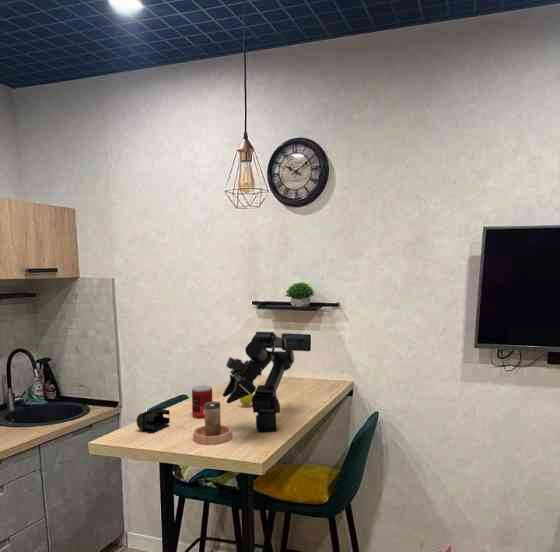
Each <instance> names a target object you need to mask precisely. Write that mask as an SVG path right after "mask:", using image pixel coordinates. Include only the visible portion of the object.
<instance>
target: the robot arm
mask: <svg viewBox="0 0 560 552" xmlns="http://www.w3.org/2000/svg"><path fill="white" fill-rule="evenodd" d="M276 348H277V349H283V351H282V350H281V351H279V350H276V351H275V349H276ZM268 349H271V350H268ZM245 354H246V356H247V357H248V358H250V359H249V360H245V361H242V359H239V358H236V359H235V358H233V357H231V356H230V357H228V360H227V362H226V366H225V367H227V368H228V369H230V372H229V382H228V384H227V385H226V388H225V390H224V391H223V393H222V396H223V397H224V398H226V397H228V398H227V399H226V403H227V404H228V405H229V404H231V403H233V402H236V401H237V400H240V398H243V397H245V396H247V395H250V394H251V395H253V394H254V395H253V397H252V403H251V405H252V412H253V413H257V415H255V427H256V429H257V432H258V433H265V432H277V431H278V429H277V414H280V413H281V404H280V401H279V399H278V397H277V390H278V387H279V385H280V383H281V380H282V378H283V375H284V373H285V371H288V370H290V369H291V367H292V365H293V364H294V362H295V355H294V349H293V348H292V347H291V345H290V344H288V340H287V338H285V337H280V336H277V334H276V333H275V332H274V331H256V332H255V334H254V335H253V337H251V341H250V342H248V343H247V345H246V346H245ZM270 363H272V367H271V369H270V371H269V374H268V376H267V378H266V380H265V382H264V384H259V385H257V387H256V385H255V384H254V381H255V380H256V379H257V377H259V376H262V372H263V371H264V370H265V369H266V368H267V367H268V365H269V364H270ZM255 387H256V388H257V389H256V390H255ZM248 392H249V393H250V394H249V393H248Z"/></svg>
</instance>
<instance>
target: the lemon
mask: <svg viewBox="0 0 560 552" xmlns="http://www.w3.org/2000/svg"><path fill="white" fill-rule="evenodd" d="M256 389H257V387H256V386H255V391H256ZM248 393H249V392H248ZM249 394H250V393H249ZM252 397H253V394H252V395H251V394H250V395H247V396H245V397H243V398H240V399H239V402H240V403H241V405H244V407H248V406H250V405H252Z"/></svg>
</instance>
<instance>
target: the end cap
mask: <svg viewBox="0 0 560 552" xmlns="http://www.w3.org/2000/svg"><path fill="white" fill-rule="evenodd" d="M164 415H166V416H169V415H170V410H169V409H163V408H162V406H158V407H154V408H152V409H149V410H147V411H145V412H141V413H139V414H138V415H137V417H136V421H135V422H136V426H137V428H138V429H139V430H140V431H141V432H143V433H145V432H147V433H146V434H151V433H153V434H155V432H156V433H158V432H160V431H162V430H164V428H165V429H166V427H167V428H170V425H169V424H170V422H171V421H170V417H165V416H164ZM159 430H160V431H159ZM157 431H158V432H157Z"/></svg>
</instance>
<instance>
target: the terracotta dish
mask: <svg viewBox="0 0 560 552" xmlns="http://www.w3.org/2000/svg"><path fill="white" fill-rule="evenodd" d="M232 431H233V430H232V427H229V426H228V425H224V424H221V435H218V436H205V425H202V426H198V427H197V428H195V429H193V433H192V434H193V435H192V436H193V441H194V442H195V443H196V444H200V445H203V446H204V445H206V446H207V445H208V446H211V445H213V446H214V445H221V444H224V443H227V442H229V441H231V439H232V436H233V435H232V433H233V432H232Z"/></svg>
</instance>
